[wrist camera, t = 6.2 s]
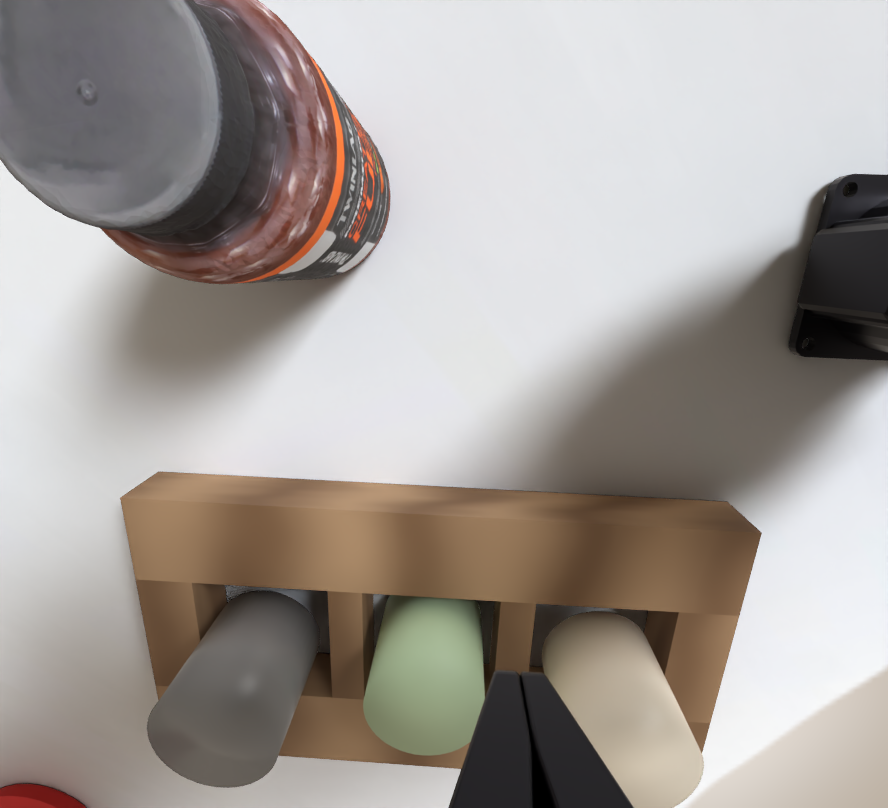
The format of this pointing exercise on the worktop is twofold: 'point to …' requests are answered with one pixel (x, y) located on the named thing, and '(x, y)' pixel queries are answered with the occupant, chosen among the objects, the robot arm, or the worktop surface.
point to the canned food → (35, 797)
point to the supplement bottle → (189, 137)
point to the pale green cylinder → (426, 675)
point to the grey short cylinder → (237, 692)
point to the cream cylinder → (624, 706)
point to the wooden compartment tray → (434, 578)
